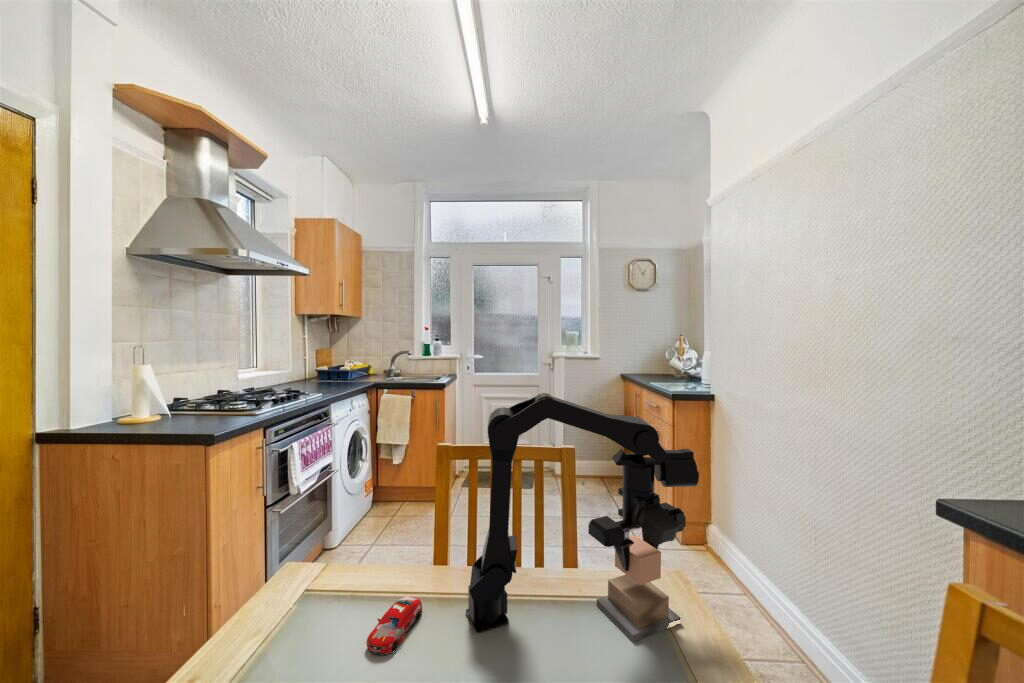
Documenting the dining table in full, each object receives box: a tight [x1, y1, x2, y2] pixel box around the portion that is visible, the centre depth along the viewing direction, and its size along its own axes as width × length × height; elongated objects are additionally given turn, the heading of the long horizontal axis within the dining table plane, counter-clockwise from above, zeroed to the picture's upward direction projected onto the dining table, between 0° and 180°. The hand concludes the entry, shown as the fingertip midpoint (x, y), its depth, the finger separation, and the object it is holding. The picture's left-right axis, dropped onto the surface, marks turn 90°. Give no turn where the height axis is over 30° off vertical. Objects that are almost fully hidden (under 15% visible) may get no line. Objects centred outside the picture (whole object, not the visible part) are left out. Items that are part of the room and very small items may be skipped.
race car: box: [366, 595, 423, 656], centre depth 83 cm, size 13×5×4 cm, turn 161°
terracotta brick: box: [614, 535, 662, 585], centre depth 87 cm, size 5×7×5 cm
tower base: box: [596, 574, 682, 642], centre depth 87 cm, size 11×11×5 cm
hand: (637, 566), depth 87 cm, fingers closed on terracotta brick, 5 cm apart
